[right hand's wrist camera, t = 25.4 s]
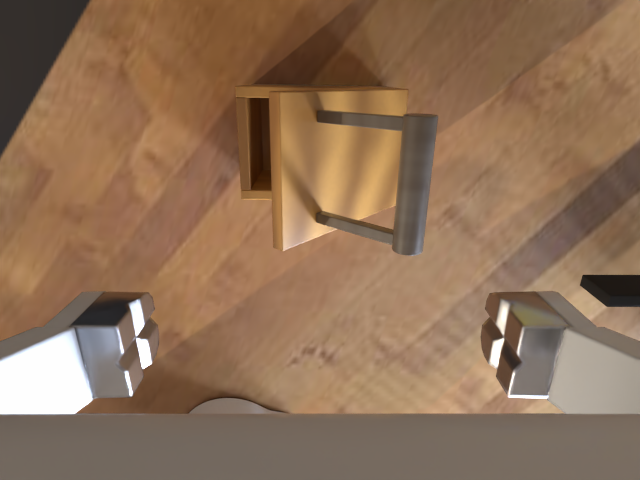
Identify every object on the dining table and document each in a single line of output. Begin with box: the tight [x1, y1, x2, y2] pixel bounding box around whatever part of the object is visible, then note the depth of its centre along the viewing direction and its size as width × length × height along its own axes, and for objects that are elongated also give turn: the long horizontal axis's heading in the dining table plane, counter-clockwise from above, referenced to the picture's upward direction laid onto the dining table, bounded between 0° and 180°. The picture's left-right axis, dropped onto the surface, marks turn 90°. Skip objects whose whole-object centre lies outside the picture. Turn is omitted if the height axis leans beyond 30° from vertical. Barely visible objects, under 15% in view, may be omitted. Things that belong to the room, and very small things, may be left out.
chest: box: [235, 84, 400, 200], centre depth 39 cm, size 13×9×10 cm
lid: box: [269, 89, 438, 255], centre depth 27 cm, size 14×9×8 cm
